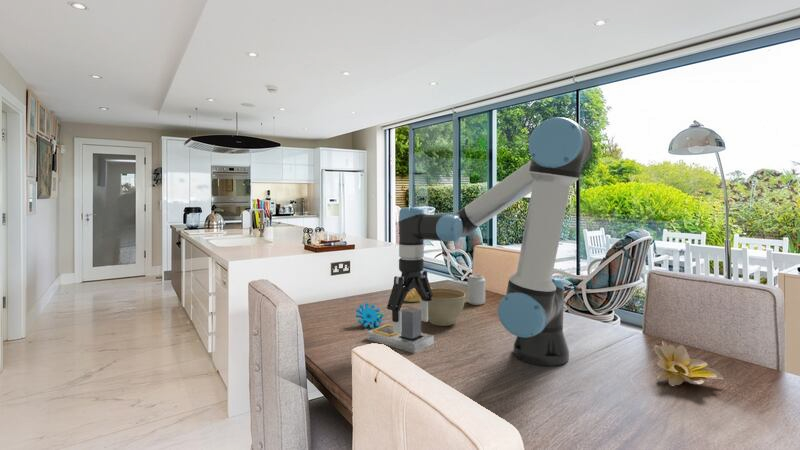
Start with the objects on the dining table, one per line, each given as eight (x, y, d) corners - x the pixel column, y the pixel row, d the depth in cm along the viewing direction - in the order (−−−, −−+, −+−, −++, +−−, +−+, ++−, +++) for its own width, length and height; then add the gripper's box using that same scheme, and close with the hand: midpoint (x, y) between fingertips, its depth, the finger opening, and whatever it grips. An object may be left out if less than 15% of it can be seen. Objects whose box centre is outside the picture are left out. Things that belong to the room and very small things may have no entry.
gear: (359, 326, 140) (354, 301, 146) (353, 335, 143) (349, 310, 150) (388, 326, 145) (383, 302, 151) (382, 334, 148) (377, 310, 155)
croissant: (407, 312, 175) (413, 297, 171) (394, 297, 181) (399, 283, 178) (443, 303, 188) (449, 289, 185) (429, 289, 195) (435, 276, 191)
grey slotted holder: (433, 343, 128) (433, 334, 128) (414, 353, 120) (414, 343, 120) (387, 331, 140) (387, 322, 140) (367, 339, 132) (367, 330, 132)
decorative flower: (691, 394, 91) (684, 347, 93) (644, 385, 102) (639, 343, 103) (732, 387, 97) (725, 343, 99) (684, 379, 107) (678, 339, 109)
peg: (421, 344, 128) (421, 309, 127) (412, 348, 124) (412, 312, 123) (409, 341, 130) (409, 307, 130) (401, 345, 127) (401, 310, 126)
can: (486, 305, 172) (487, 277, 171) (468, 305, 172) (468, 277, 171) (483, 301, 179) (483, 273, 178) (466, 301, 179) (466, 273, 179)
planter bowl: (444, 332, 138) (444, 300, 137) (411, 321, 150) (411, 292, 150) (474, 322, 149) (474, 293, 148) (441, 313, 161) (441, 285, 160)
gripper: (424, 252, 137) (424, 314, 139) (374, 262, 118) (375, 334, 120) (443, 254, 133) (443, 318, 134) (394, 264, 113) (395, 339, 115)
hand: (411, 326), depth 127 cm, fingers open, 13 cm apart
